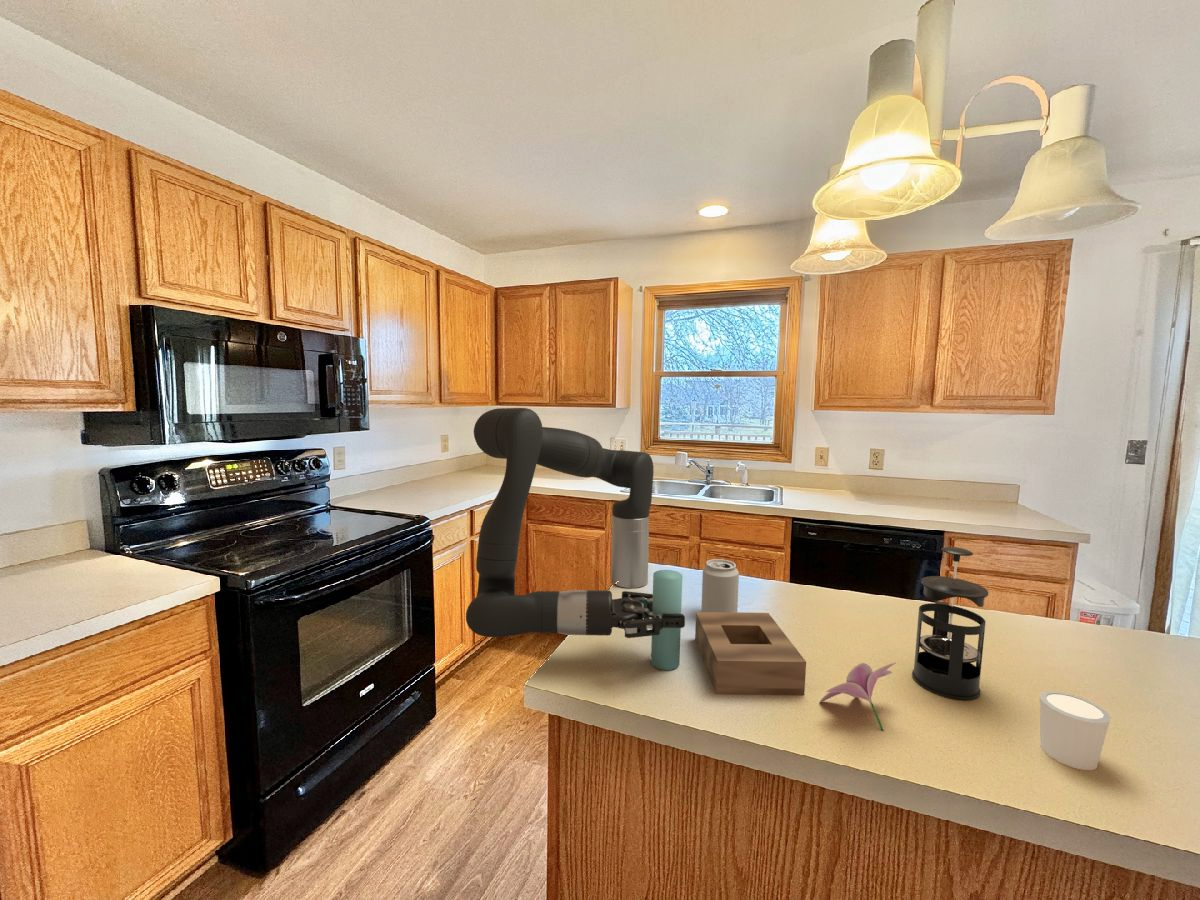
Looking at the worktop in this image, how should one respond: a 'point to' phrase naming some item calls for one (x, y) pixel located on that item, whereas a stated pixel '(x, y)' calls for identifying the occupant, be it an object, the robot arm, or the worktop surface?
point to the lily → (860, 684)
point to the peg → (668, 602)
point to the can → (720, 586)
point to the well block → (748, 654)
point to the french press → (950, 637)
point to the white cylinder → (1072, 729)
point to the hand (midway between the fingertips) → (681, 613)
